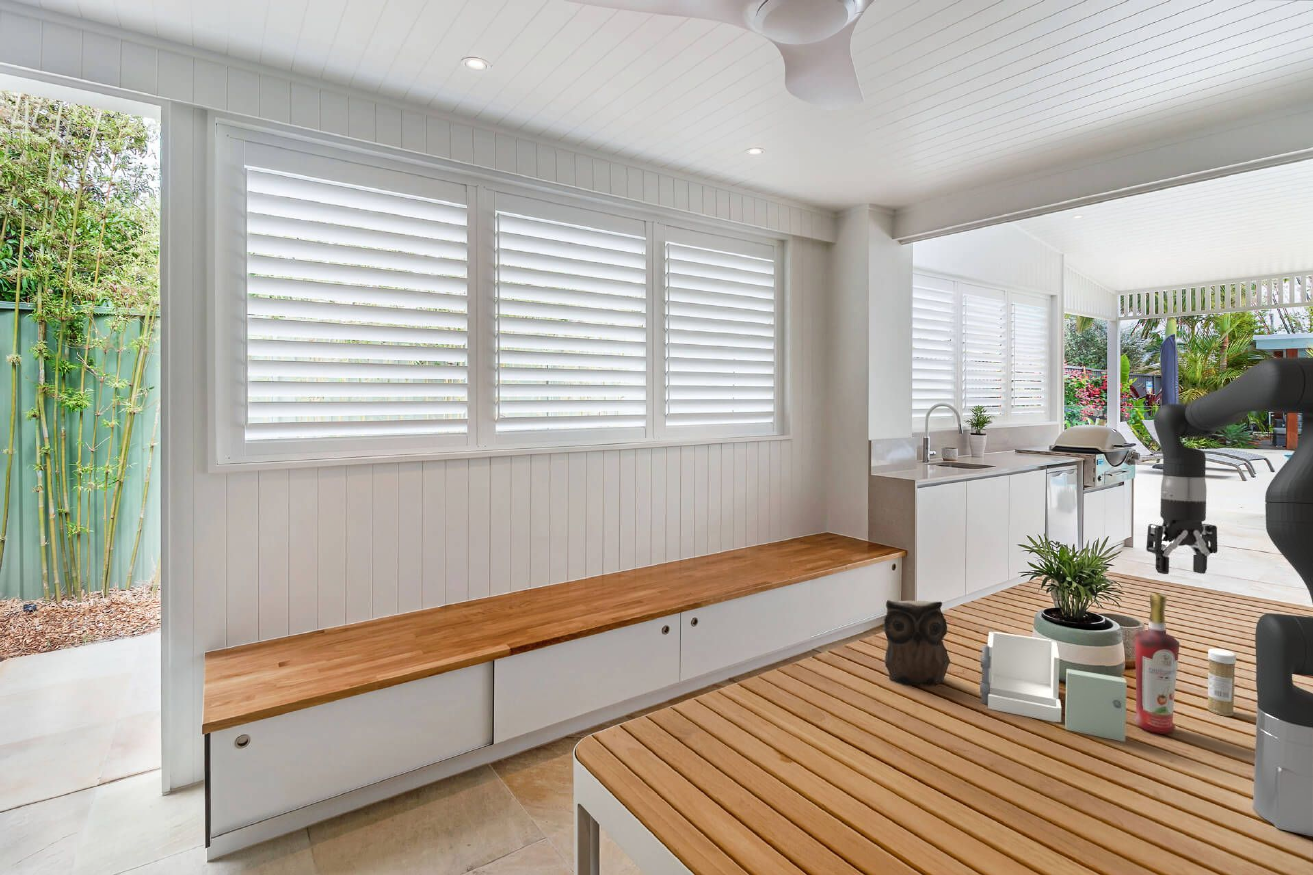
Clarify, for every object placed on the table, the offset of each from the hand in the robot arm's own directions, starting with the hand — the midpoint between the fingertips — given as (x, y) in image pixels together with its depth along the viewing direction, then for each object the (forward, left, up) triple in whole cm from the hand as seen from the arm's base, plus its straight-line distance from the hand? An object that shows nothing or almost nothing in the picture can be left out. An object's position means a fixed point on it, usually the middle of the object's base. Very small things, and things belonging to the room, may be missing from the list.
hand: (1181, 573), depth 138 cm
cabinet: (-7, +30, -31) cm, 44 cm away
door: (-17, +16, -31) cm, 39 cm away
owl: (-5, +52, -32) cm, 61 cm away
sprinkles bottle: (+7, -9, -32) cm, 33 cm away
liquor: (-9, +5, -32) cm, 33 cm away
